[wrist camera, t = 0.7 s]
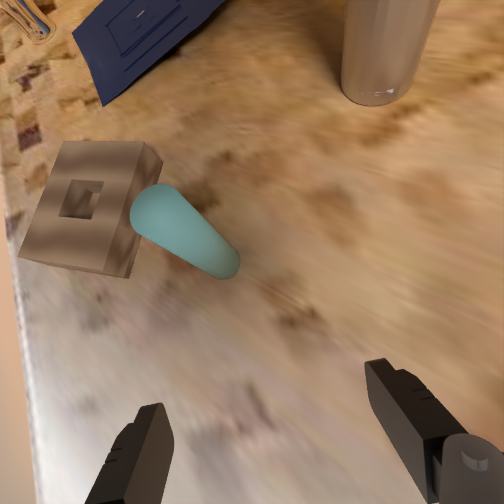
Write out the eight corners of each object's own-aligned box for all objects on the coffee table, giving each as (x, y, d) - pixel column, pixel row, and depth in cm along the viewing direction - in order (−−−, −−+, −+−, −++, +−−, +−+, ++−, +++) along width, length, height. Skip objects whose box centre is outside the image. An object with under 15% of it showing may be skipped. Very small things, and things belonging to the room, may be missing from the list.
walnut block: (89, 160, 48) (63, 140, 43) (163, 162, 44) (144, 141, 39) (50, 265, 44) (17, 256, 39) (128, 278, 40) (102, 270, 35)
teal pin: (211, 244, 38) (138, 182, 23) (243, 247, 37) (187, 185, 22) (203, 276, 37) (122, 233, 22) (236, 281, 36) (173, 239, 21)
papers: (251, 5, 48) (243, -19, 45) (115, 117, 53) (99, 104, 50) (194, -58, 57) (184, -82, 53) (83, 43, 62) (67, 28, 59)
